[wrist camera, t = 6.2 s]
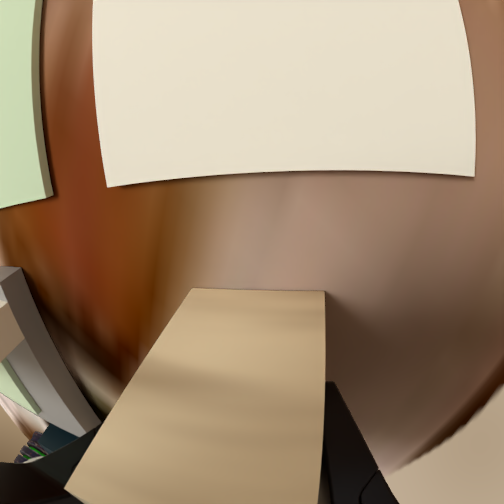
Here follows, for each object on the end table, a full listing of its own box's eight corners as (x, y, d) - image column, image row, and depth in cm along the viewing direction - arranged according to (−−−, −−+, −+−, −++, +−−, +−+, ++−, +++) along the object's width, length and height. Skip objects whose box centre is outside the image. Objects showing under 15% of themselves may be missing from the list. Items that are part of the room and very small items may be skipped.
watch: (40, 408, 18) (-20, 492, 8) (112, 444, 17) (52, 553, 7) (66, 442, 21) (18, 518, 11) (134, 473, 19) (88, 565, 9)
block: (317, 400, 10) (296, 573, 4) (216, 392, 11) (157, 546, 5) (324, 291, 8) (309, 558, 2) (191, 287, 9) (64, 488, 3)
